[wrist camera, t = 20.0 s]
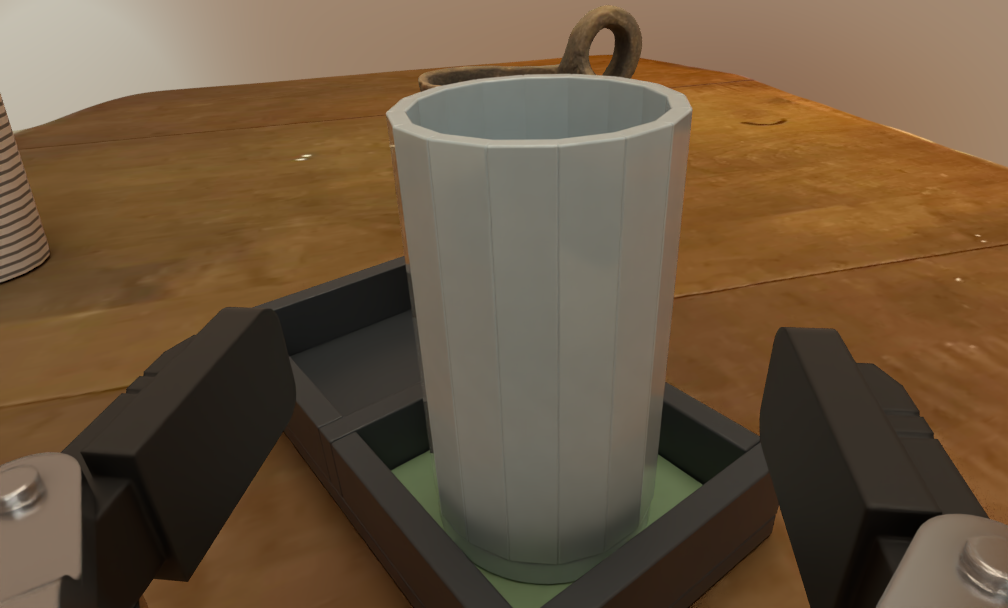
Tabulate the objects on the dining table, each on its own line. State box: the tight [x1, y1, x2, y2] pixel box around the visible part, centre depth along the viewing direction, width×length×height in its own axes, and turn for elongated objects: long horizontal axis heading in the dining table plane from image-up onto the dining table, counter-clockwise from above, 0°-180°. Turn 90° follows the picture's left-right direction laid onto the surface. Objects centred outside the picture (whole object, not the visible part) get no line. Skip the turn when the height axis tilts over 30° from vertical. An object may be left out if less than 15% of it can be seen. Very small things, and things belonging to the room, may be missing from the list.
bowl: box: [418, 5, 642, 92], centre depth 48 cm, size 14×18×10 cm
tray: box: [253, 256, 779, 608], centre depth 21 cm, size 17×9×3 cm, turn 38°
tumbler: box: [386, 74, 692, 584], centre depth 16 cm, size 6×6×11 cm
